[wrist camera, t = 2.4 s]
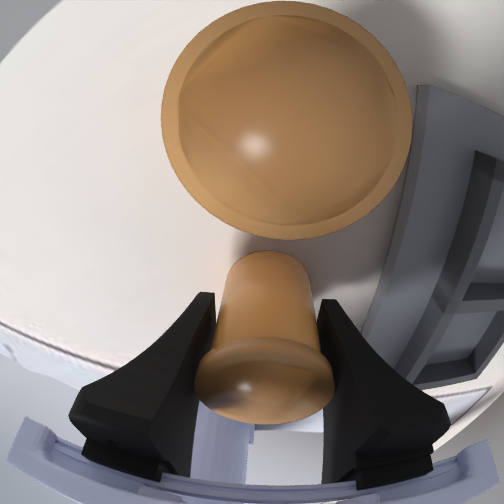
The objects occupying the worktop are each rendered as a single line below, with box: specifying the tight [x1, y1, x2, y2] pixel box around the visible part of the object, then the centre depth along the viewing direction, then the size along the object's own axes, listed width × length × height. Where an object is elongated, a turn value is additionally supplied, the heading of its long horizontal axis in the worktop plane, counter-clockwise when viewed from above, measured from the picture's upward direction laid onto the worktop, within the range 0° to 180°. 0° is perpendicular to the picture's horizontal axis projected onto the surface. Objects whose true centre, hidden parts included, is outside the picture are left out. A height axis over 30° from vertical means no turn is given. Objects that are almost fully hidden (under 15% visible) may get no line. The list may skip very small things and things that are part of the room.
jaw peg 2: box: [194, 251, 335, 424], centre depth 11 cm, size 5×5×6 cm
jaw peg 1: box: [161, 1, 413, 240], centre depth 7 cm, size 5×5×6 cm
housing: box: [361, 85, 504, 390], centre depth 12 cm, size 18×13×2 cm
